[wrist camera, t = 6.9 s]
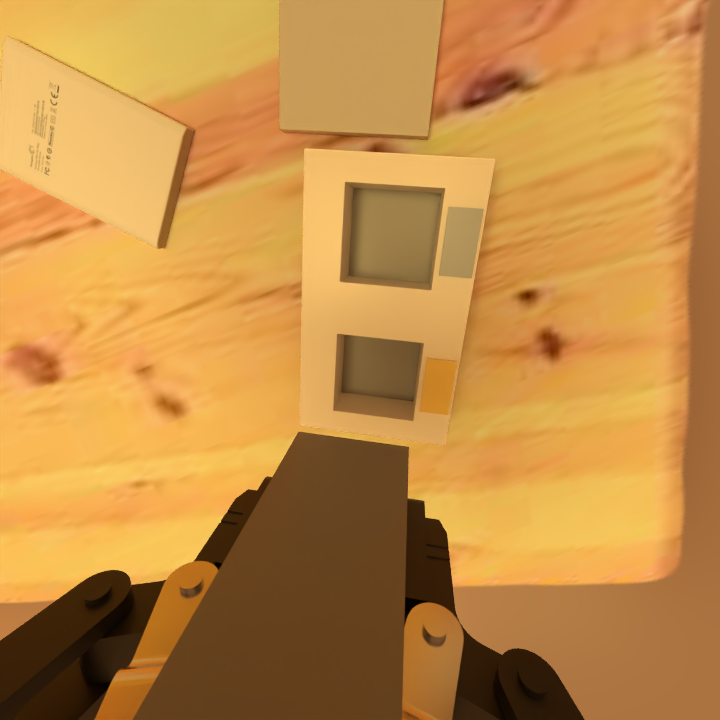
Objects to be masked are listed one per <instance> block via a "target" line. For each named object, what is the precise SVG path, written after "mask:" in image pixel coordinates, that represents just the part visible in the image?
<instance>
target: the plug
mask: <svg viewBox="0 0 720 720" xmlns="http://www.w3.org/2000/svg"><path fill="white" fill-rule="evenodd" d="M408 457H409V447H405V446H397V445H390V444H383V443H376V442H369V441H361V440H354V439H347V438H340V437H333V436H326V435H318V434H311V433H304V432H298V434H297V436H296V437H295V439H294V441H293V443H292V444H291V446H290V448H289V449H288V451H287V453H286V455H285V456H284V458H283V460H282V462H281V463H280V465H279V467H278V468H277V470H276V472H275V474H274V475H273V477H272V479H271V481H270V482H269V484H268V486H267V488H266V489H265V491H264V493H263V494H262V496H261V498H260V500H259V501H258V503H257V505H256V507H255V508H254V510H253V512H252V514H251V515H250V517H249V519H248V520H247V522H246V524H245V526H244V527H243V529H242V531H241V533H240V534H239V536H238V538H237V539H236V541H235V543H234V545H233V546H232V548H231V550H230V552H229V553H228V555H227V557H226V559H225V560H224V562H223V564H222V565H221V567H220V569H219V571H218V572H217V574H216V576H215V578H214V579H213V581H212V583H211V584H210V586H209V588H208V590H207V591H206V593H205V595H204V597H203V598H202V600H201V602H200V604H199V605H198V607H197V609H196V610H195V612H194V614H193V616H192V617H191V619H190V621H189V623H188V624H187V626H186V628H185V629H184V631H183V633H182V635H181V636H180V638H179V640H178V642H177V643H176V645H175V647H174V649H173V650H172V652H171V654H170V655H169V657H168V659H167V661H166V662H165V664H164V666H163V668H162V669H161V671H160V673H159V674H158V676H157V678H156V680H155V681H154V683H153V685H152V687H151V688H150V690H149V692H148V694H147V695H146V697H145V699H144V700H143V702H142V704H141V706H140V707H139V709H138V711H137V713H136V714H135V716H134V718H133V719H132V720H402V699H403V659H404V618H405V578H406V538H407V497H408Z"/></svg>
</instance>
